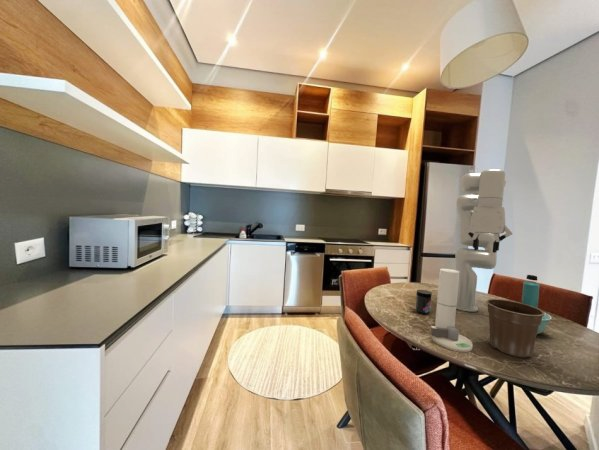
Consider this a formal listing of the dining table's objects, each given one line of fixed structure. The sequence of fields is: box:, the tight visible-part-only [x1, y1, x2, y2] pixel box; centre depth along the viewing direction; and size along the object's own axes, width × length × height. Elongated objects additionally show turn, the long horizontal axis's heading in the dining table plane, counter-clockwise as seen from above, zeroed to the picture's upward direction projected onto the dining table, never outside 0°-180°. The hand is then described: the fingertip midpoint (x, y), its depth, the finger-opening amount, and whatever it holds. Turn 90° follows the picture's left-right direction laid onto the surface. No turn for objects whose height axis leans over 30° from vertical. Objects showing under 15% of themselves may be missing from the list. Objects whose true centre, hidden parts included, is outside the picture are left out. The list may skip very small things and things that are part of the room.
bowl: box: [537, 312, 552, 335], centre depth 109 cm, size 16×16×8 cm
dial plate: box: [431, 334, 473, 353], centre depth 95 cm, size 13×13×2 cm
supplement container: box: [414, 289, 433, 316], centre depth 123 cm, size 7×7×10 cm
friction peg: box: [430, 325, 460, 341], centre depth 95 cm, size 10×4×4 cm, turn 83°
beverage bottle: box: [521, 274, 541, 309], centre depth 129 cm, size 6×7×20 cm
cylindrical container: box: [434, 268, 459, 328], centre depth 107 cm, size 7×7×25 cm
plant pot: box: [485, 298, 546, 359], centre depth 92 cm, size 16×16×16 cm
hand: (485, 250), depth 95 cm, fingers open, 5 cm apart
